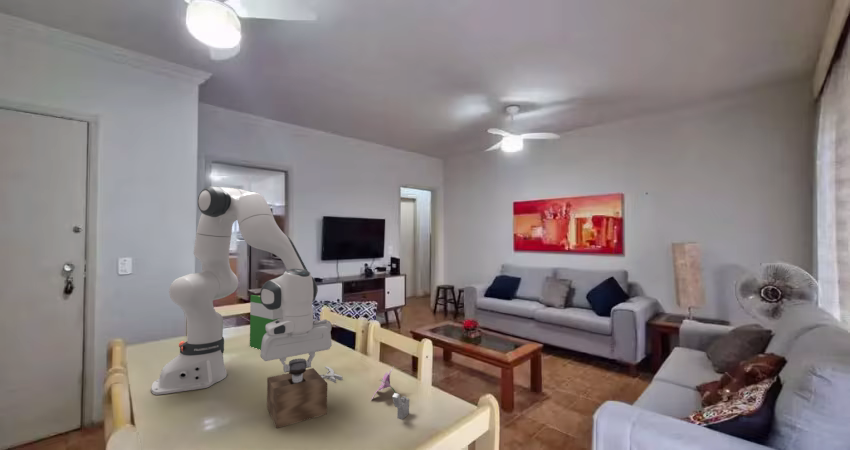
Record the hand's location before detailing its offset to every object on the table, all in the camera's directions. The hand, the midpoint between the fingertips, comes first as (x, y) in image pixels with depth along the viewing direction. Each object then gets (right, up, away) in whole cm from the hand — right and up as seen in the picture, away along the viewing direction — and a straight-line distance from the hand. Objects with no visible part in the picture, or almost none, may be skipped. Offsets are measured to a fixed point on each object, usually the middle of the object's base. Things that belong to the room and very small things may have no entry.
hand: (297, 369), depth 107 cm
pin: (0, -8, 0) cm, 8 cm away
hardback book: (-34, -14, +57) cm, 68 cm away
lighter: (+32, -13, -4) cm, 34 cm away
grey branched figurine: (+2, -14, +26) cm, 29 cm away
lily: (+25, -13, +10) cm, 30 cm away
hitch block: (0, -12, 0) cm, 12 cm away
